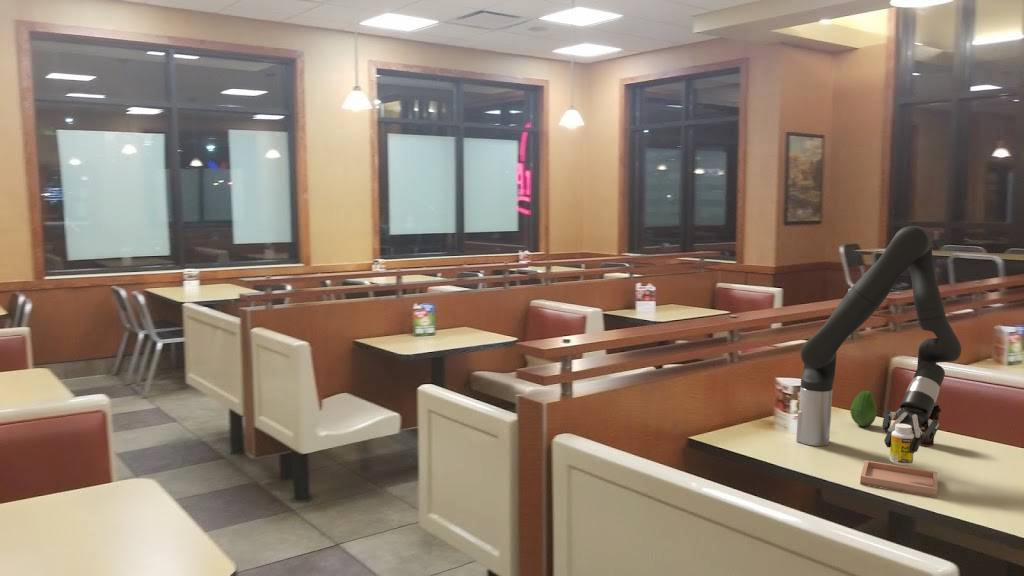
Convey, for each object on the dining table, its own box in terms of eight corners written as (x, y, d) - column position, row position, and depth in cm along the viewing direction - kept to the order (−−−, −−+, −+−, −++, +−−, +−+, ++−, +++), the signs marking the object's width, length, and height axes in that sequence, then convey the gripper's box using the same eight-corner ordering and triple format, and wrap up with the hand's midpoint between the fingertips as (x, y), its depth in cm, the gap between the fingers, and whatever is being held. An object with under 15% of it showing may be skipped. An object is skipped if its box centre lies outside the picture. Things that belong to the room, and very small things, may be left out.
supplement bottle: (899, 466, 203) (901, 429, 202) (885, 459, 208) (887, 423, 207) (917, 465, 204) (920, 427, 203) (902, 458, 209) (905, 421, 208)
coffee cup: (931, 439, 243) (934, 399, 241) (943, 448, 235) (946, 406, 233) (902, 438, 244) (905, 398, 242) (913, 447, 236) (916, 405, 234)
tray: (860, 484, 205) (860, 476, 205) (864, 467, 217) (865, 460, 217) (936, 497, 197) (937, 489, 196) (936, 479, 209) (937, 471, 208)
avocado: (878, 425, 257) (880, 390, 256) (872, 430, 251) (874, 395, 250) (852, 420, 262) (855, 386, 261) (846, 426, 256) (848, 391, 254)
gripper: (890, 384, 214) (868, 435, 208) (945, 394, 203) (924, 448, 197) (897, 399, 218) (876, 449, 212) (951, 410, 207) (931, 463, 201)
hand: (899, 448), depth 205 cm, fingers closed on supplement bottle, 5 cm apart
